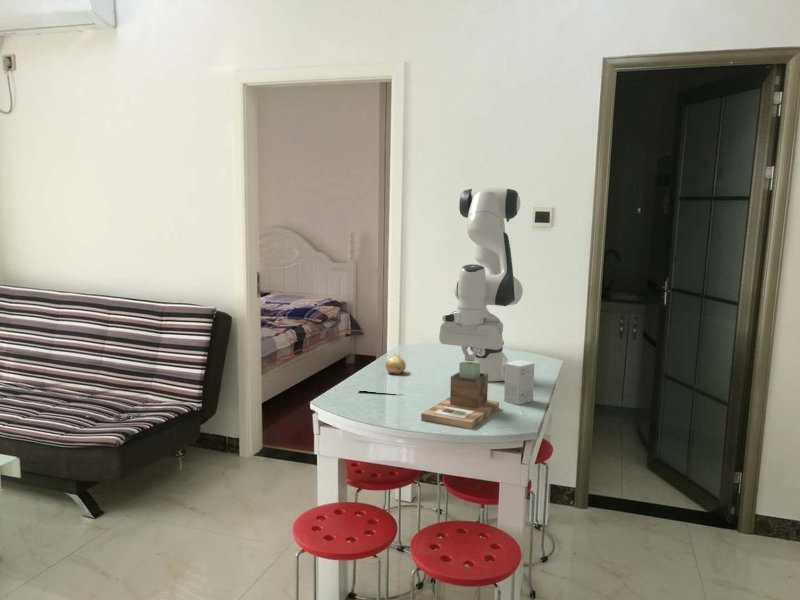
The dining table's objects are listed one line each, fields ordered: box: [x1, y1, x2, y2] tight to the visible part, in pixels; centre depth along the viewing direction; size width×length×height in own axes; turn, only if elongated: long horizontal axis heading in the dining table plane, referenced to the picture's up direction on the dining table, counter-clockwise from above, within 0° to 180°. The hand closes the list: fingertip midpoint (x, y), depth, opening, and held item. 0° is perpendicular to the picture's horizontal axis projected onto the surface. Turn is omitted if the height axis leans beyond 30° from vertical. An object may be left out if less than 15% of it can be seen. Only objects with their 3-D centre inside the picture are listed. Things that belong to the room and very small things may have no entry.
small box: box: [503, 359, 535, 406], centre depth 212 cm, size 8×6×13 cm
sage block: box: [458, 359, 480, 379], centre depth 201 cm, size 5×5×5 cm
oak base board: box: [420, 371, 500, 430], centre depth 197 cm, size 24×16×11 cm, turn 152°
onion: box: [384, 354, 407, 375], centre depth 249 cm, size 8×8×7 cm
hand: (470, 360), depth 201 cm, fingers closed
